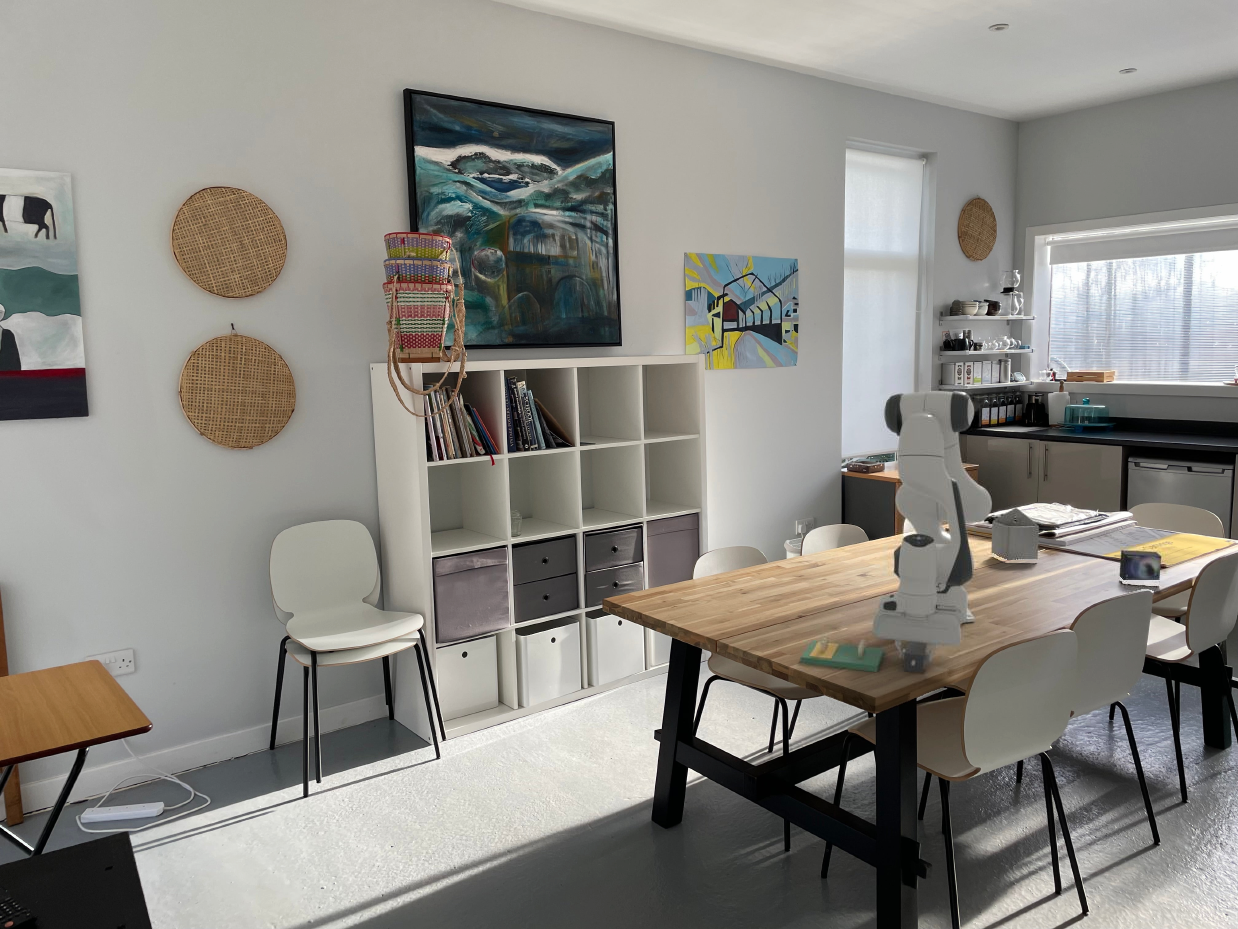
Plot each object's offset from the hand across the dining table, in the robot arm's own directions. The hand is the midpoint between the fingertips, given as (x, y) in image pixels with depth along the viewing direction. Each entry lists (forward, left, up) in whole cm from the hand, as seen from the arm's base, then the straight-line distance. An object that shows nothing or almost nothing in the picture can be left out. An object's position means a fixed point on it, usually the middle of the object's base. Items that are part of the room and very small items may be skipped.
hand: (915, 659), depth 216 cm
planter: (-129, +23, -2) cm, 131 cm away
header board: (+1, -17, -2) cm, 17 cm away
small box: (-108, +61, -2) cm, 124 cm away
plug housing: (+1, 0, -2) cm, 2 cm away
